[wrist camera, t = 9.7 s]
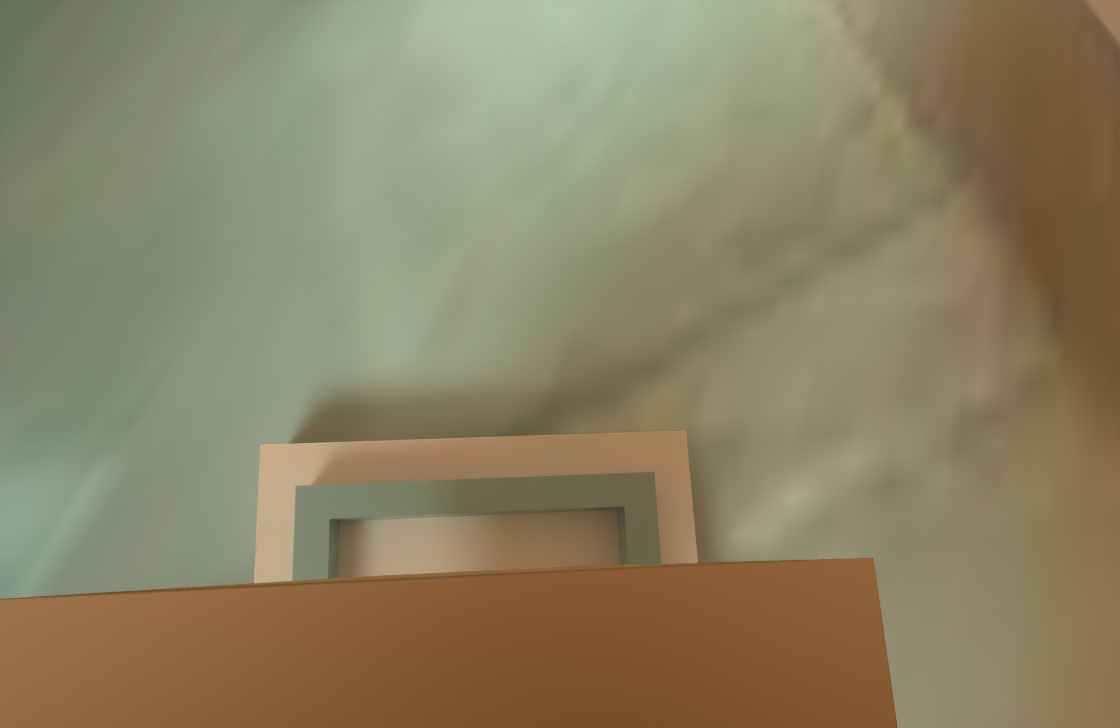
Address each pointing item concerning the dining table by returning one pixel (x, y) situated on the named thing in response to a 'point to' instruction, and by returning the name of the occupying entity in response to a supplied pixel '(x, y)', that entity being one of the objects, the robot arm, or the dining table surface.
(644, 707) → the oak brick
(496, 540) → the base plate
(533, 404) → the dining table surface
